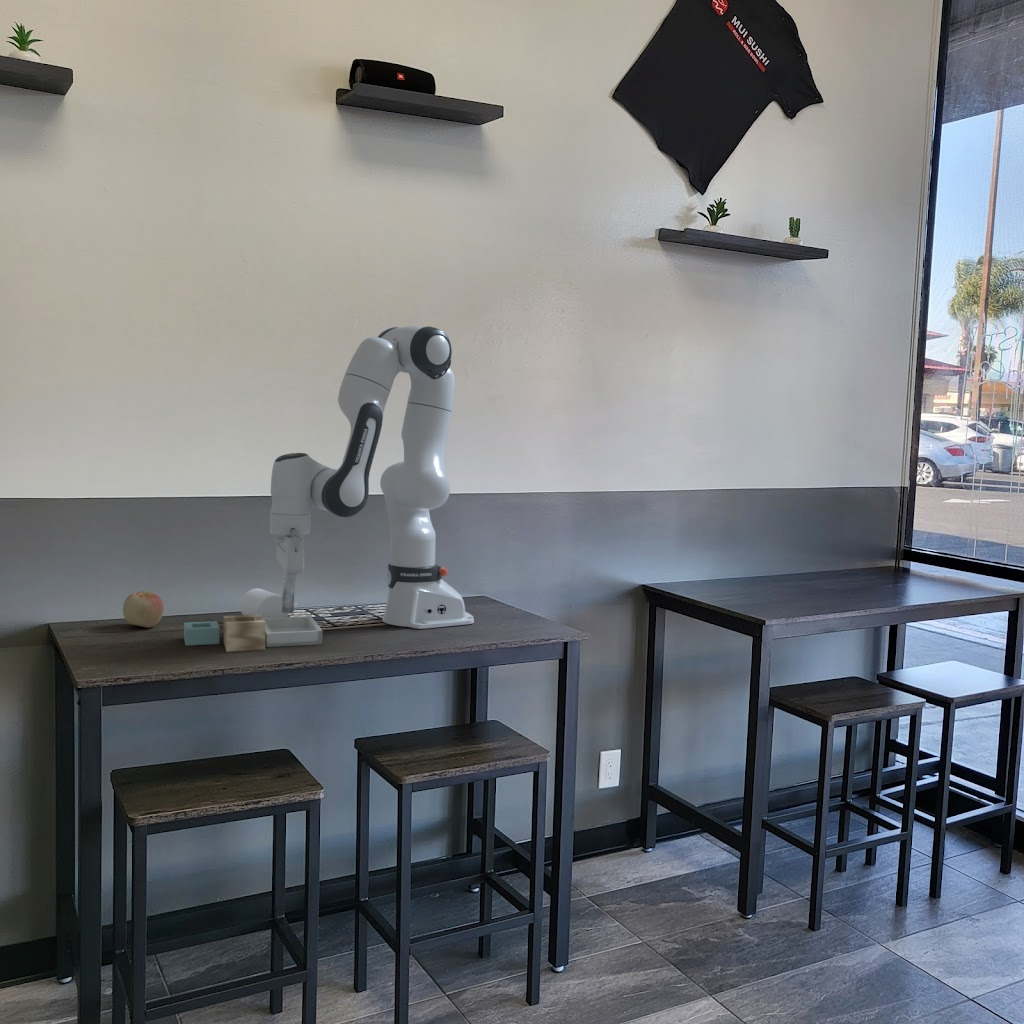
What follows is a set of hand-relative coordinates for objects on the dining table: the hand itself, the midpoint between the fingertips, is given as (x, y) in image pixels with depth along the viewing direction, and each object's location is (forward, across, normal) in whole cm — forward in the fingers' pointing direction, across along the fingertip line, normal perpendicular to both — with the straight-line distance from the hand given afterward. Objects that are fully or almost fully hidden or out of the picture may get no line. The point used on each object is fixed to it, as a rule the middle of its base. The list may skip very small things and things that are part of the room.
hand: (289, 587), depth 223 cm
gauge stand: (+12, +1, +19) cm, 22 cm away
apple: (+12, +18, +31) cm, 38 cm away
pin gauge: (+6, 0, 0) cm, 6 cm away
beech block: (+12, -6, +10) cm, 17 cm away
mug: (+12, +16, +2) cm, 20 cm away
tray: (+12, 0, 0) cm, 12 cm away
